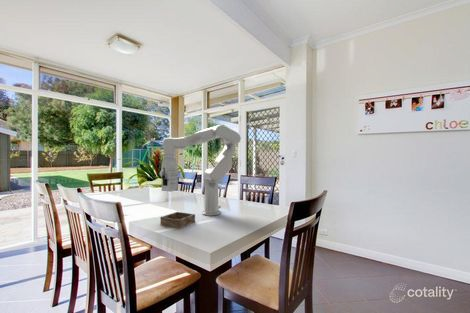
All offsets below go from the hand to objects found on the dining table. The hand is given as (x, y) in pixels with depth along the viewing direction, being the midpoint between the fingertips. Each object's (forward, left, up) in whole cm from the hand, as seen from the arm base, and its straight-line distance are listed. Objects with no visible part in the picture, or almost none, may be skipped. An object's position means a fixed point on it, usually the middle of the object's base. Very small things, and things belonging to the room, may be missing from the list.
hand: (169, 184), depth 141 cm
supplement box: (0, 0, -4) cm, 4 cm away
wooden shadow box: (+6, +12, -22) cm, 25 cm away
